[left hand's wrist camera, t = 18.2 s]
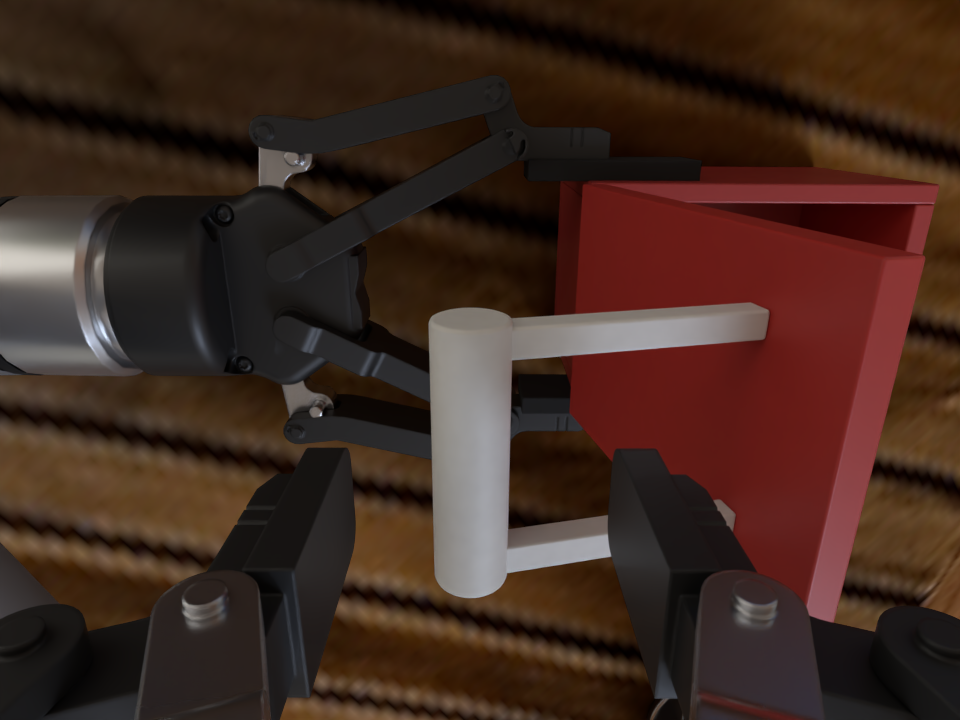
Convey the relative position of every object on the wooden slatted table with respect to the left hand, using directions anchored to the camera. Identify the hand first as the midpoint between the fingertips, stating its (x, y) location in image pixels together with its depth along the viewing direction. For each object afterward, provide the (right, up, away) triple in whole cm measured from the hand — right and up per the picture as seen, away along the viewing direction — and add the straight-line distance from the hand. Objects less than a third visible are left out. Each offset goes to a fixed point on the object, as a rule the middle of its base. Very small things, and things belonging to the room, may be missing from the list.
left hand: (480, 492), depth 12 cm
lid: (+6, +2, +7) cm, 9 cm away
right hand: (+8, +6, +15) cm, 18 cm away
